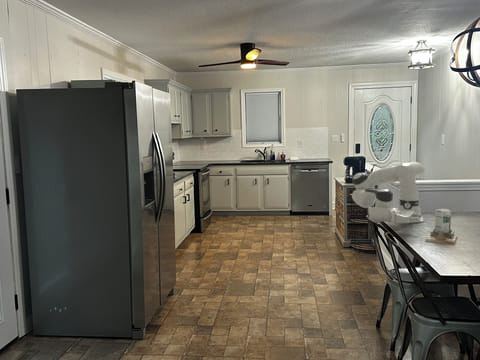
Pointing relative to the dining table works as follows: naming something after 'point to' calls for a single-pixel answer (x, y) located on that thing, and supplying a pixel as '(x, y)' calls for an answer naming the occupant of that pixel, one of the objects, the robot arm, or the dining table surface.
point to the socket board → (449, 240)
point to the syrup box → (442, 220)
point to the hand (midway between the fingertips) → (420, 217)
